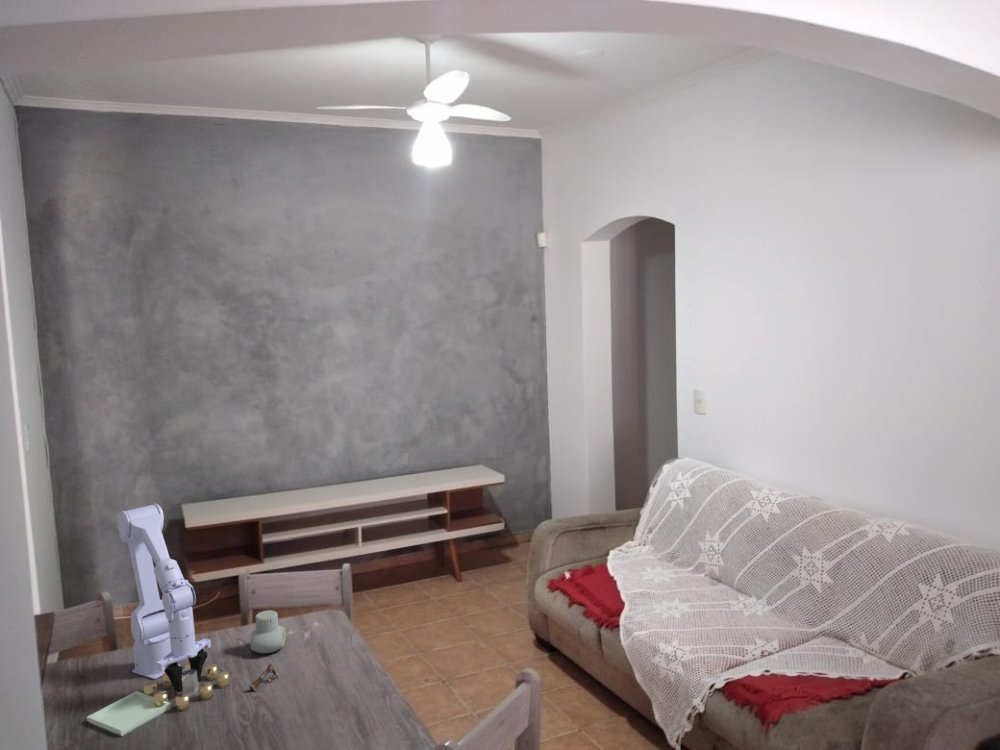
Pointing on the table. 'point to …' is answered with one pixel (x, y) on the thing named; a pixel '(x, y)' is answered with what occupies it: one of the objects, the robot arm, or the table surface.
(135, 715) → the tray
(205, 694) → the set of brass balls
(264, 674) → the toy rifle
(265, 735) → the table surface
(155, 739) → the table surface
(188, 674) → the steel nut
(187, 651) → the robot arm
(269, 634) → the air freshener
